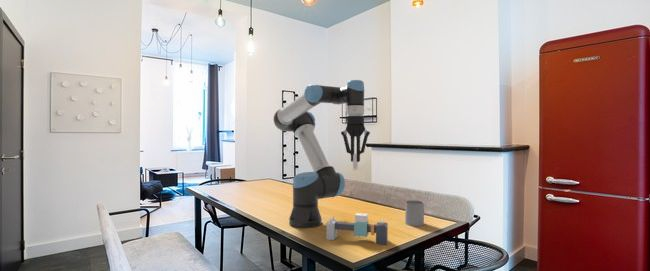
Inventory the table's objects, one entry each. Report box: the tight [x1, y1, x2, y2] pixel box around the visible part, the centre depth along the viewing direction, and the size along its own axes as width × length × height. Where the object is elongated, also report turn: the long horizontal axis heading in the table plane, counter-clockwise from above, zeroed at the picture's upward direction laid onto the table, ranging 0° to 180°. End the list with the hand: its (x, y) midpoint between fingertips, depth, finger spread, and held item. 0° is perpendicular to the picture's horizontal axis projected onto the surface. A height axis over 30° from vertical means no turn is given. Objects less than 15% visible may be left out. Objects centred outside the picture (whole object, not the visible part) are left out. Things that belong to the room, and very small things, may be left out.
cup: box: [404, 199, 425, 227], centre depth 149 cm, size 8×8×10 cm
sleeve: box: [353, 212, 370, 238], centre depth 126 cm, size 5×5×8 cm
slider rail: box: [326, 216, 389, 246], centre depth 127 cm, size 24×6×8 cm, turn 74°
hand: (355, 169), depth 141 cm, fingers closed
